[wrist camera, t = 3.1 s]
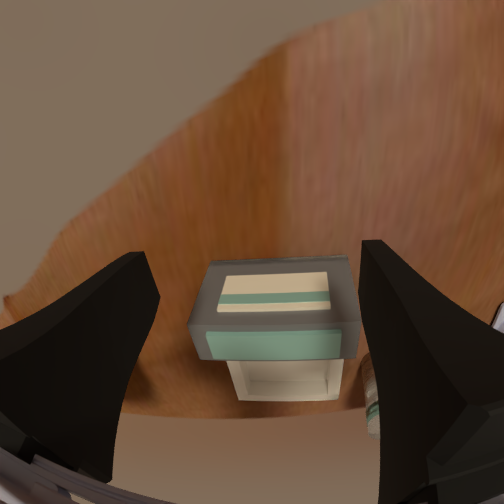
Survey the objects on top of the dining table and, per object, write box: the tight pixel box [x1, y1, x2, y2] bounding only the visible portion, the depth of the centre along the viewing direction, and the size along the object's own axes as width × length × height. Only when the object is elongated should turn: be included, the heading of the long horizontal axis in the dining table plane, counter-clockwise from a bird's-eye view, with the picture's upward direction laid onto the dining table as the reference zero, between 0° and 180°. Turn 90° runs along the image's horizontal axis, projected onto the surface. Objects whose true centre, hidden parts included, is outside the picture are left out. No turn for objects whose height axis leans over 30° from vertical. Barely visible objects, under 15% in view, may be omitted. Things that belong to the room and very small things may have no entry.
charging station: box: [187, 255, 361, 401], centre depth 22 cm, size 9×14×6 cm, turn 7°
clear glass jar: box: [361, 352, 380, 439], centre depth 22 cm, size 4×4×7 cm
